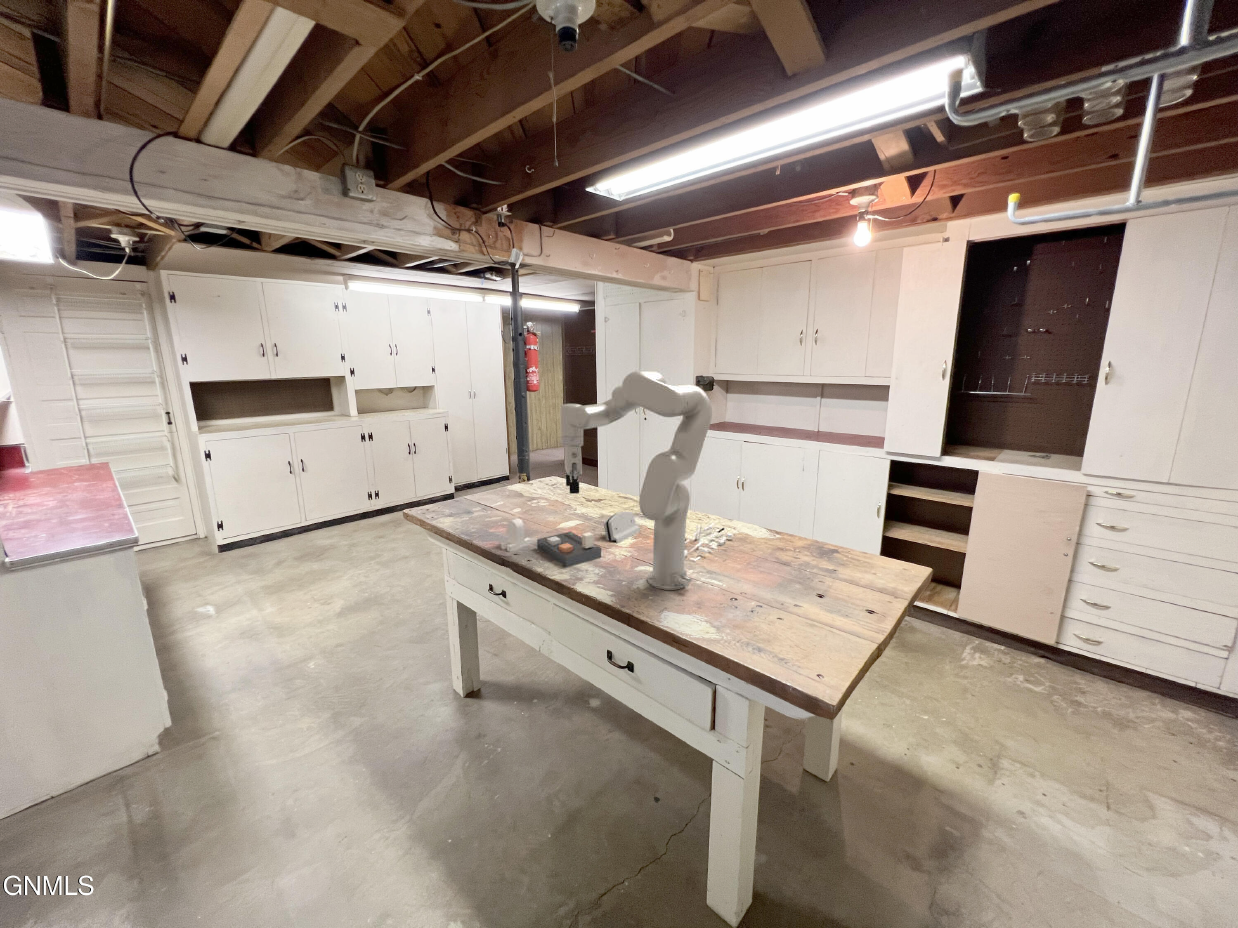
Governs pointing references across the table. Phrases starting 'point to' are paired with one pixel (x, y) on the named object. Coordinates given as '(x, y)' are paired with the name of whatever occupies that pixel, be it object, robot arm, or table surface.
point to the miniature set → (720, 542)
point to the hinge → (620, 526)
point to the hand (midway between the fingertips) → (572, 489)
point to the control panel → (569, 557)
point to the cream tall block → (587, 540)
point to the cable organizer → (515, 536)
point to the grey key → (553, 540)
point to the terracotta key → (565, 548)
